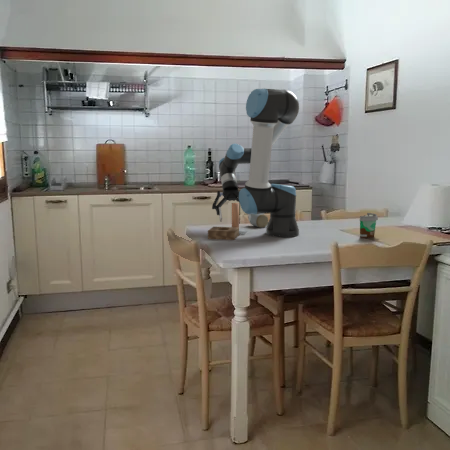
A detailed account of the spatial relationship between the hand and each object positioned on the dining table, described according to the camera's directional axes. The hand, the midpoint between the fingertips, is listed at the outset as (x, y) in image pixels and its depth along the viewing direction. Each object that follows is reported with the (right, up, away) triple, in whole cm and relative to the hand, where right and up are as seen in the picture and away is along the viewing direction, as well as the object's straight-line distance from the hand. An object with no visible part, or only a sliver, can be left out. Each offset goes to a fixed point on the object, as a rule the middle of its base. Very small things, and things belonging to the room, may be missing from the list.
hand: (235, 219), depth 221 cm
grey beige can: (+13, -4, +21) cm, 25 cm away
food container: (+60, -8, -7) cm, 61 cm away
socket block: (-6, -8, -7) cm, 12 cm away
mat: (0, -7, +3) cm, 7 cm away
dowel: (0, -6, +2) cm, 7 cm away
